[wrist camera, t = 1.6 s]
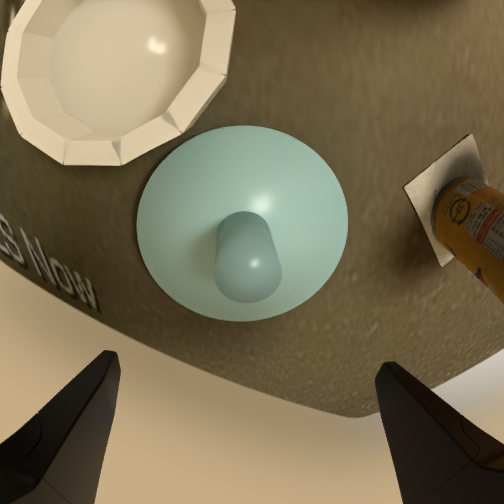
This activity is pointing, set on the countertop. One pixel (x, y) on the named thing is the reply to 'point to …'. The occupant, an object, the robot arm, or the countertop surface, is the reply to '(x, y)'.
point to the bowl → (113, 73)
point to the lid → (242, 223)
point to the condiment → (463, 213)
